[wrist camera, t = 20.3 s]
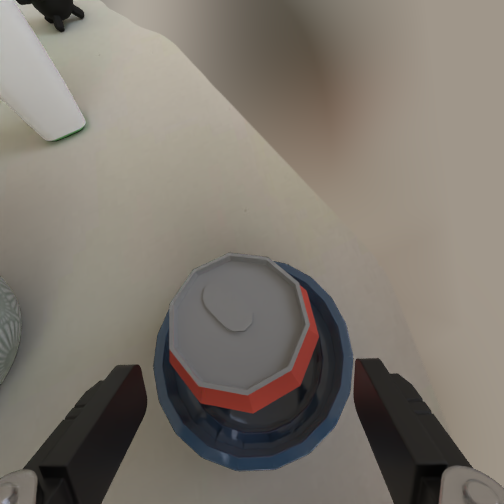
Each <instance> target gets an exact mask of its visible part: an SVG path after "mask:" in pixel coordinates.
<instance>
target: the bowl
mask: <svg viewBox="0 0 504 504" xmlns="http://www.w3.org/2000/svg"><path fill="white" fill-rule="evenodd" d="M274 262H275V263H276V264H277V265H278V266H280V267H281V268H282V269H283V270H284V271H286V272H287V273H288V274H289V275H290V276H292V277H293V278H294V279H295V280H296V281H298V282H299V285H300V286H302V287H303V288H304V289H305V290H306V291H307V294H308V297H309V301H310V305H311V308H312V312H313V316H314V319H315V323H316V327H317V330H318V334H319V338H318V341H317V344H316V346H315V349H314V351H313V354H312V357H311V359H310V362H309V365H308V367H307V370H306V372H305V375H304V378H303V380H302V383H301V385H300V386H299V387H297V388H296V389H294V390H292V391H290V392H289V393H287V394H285V395H284V396H282V397H280V398H279V399H277V400H275V401H274V402H272V403H270V404H268V405H267V406H265V407H263V408H262V409H260V410H258V411H257V412H255V413H248V412H243V411H238V410H233V409H228V408H223V407H218V406H212V405H207V404H202V403H200V402H199V401H198V399H197V398H196V397H195V395H194V394H193V393H192V391H191V390H190V389H189V387H188V386H187V385H186V383H185V382H184V381H183V380H182V378H181V377H180V376H179V374H178V373H177V372H176V370H175V369H174V368H173V366H172V365H171V364H170V362H169V350H170V349H169V310H168V312H167V314H166V317H165V319H164V321H163V324H162V326H161V328H160V330H159V333H158V335H157V342H156V349H155V357H154V364H153V367H154V368H153V369H154V375H155V381H156V387H157V393H158V400H159V403H160V405H161V407H162V408H163V410H164V412H165V414H166V416H167V418H168V420H169V422H170V424H171V426H172V428H173V430H174V432H176V434H177V435H178V436H179V437H180V438H181V439H182V440H183V441H184V442H185V443H186V444H187V445H188V446H190V447H191V448H192V449H193V450H194V451H195V452H196V453H197V454H198V455H199V456H200V457H203V458H204V459H206V460H209V461H211V462H214V463H216V464H219V465H222V466H224V467H227V468H230V469H232V470H235V471H263V470H274V469H275V470H276V469H278V468H281V467H283V466H285V465H287V464H289V463H291V462H294V461H296V460H298V459H300V458H302V457H304V456H306V455H308V454H310V453H311V452H312V451H313V450H314V449H315V448H316V447H317V446H318V445H319V443H320V442H321V441H322V440H323V439H324V438H325V437H326V436H327V435H328V434H329V433H330V432H331V431H332V430H333V429H334V428H335V426H336V424H337V422H338V420H339V417H340V415H341V413H342V410H343V408H344V406H345V404H346V401H347V399H348V397H349V394H350V390H351V379H352V368H353V353H352V348H351V344H350V339H349V334H348V330H347V326H346V323H345V321H344V319H343V317H342V316H341V314H340V312H339V310H338V308H337V306H336V305H335V303H334V301H333V299H332V298H331V297H330V296H329V295H328V294H327V293H326V292H325V291H324V290H323V289H322V288H321V287H320V286H319V285H318V284H317V283H316V282H315V281H314V280H313V279H312V278H311V277H310V276H308V275H306V274H304V273H303V272H301V271H299V270H297V269H295V268H293V267H291V266H290V265H288V264H285V263H280V262H276V261H274Z"/></svg>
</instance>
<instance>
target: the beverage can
mask: <svg viewBox="0 0 504 504" xmlns="http://www.w3.org/2000/svg"><path fill="white" fill-rule="evenodd" d="M318 338H319V334H318V330H317V327H316V323H315V319H314V316H313V312H312V308H311V305H310V301H309V297H308V294H307V291H306V290H305V289H304V288H303V287H302V286H300V285H299V282H298V281H296V280H295V279H294V278H293V277H292V276H290V275H289V274H288V273H287V272H286V271H284V270H283V269H282V268H281V267H280V266H278V265H277V264H276V263H275V262H274V261H272V260H271V259H270V258H269V257H264V256H256V255H247V254H238V253H227V254H225V255H223V256H221V257H219V258H216V259H214V260H212V261H210V262H208V263H206V264H204V265H201V266H199V267H197V268H195V269H193V270H192V272H191V273H190V275H189V276H188V278H187V279H186V281H185V282H184V284H183V285H182V286H181V288H180V289H179V291H178V292H177V294H176V295H175V297H174V298H173V300H172V301H171V303H170V304H169V349H170V350H169V362H170V364H171V365H172V366H173V368H174V369H175V370H176V372H177V373H178V374H179V376H180V377H181V378H182V380H183V381H184V382H185V383H186V385H187V386H188V387H189V389H190V390H191V391H192V393H193V394H194V395H195V397H196V398H197V399H198V401H199V402H200V403H202V404H207V405H212V406H218V407H223V408H228V409H233V410H238V411H243V412H248V413H255V412H257V411H258V410H260V409H262V408H263V407H265V406H267V405H268V404H270V403H272V402H274V401H275V400H277V399H279V398H280V397H282V396H284V395H285V394H287V393H289V392H290V391H292V390H294V389H296V388H297V387H299V386H300V385H301V383H302V380H303V378H304V375H305V372H306V370H307V367H308V365H309V362H310V359H311V357H312V354H313V351H314V349H315V346H316V344H317V341H318Z"/></svg>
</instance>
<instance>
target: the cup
mask: <svg viewBox="0 0 504 504" xmlns="http://www.w3.org/2000/svg"><path fill="white" fill-rule="evenodd" d="M0 98H1V99H2V100H3V101H4V102H5V103H6V104H7V105H8V106H9V107H10V108H11V109H12V110H13V111H14V112H15V113H16V114H17V115H19V116H20V117H21V118H22V119H23V120H24V121H25V122H26V123H27V124H28V125H29V126H30V127H31V128H32V129H33V130H35V131H36V132H37V133H38V134H39V135H40V136H41V137H42V138H43V139H45V140H47V141H57V140H60V139H63V138H65V137H67V136H69V135H72V134H74V133H76V132H78V131H80V130H82V129H83V127H84V125H85V123H86V121H85V119H84V117H83V115H82V113H81V111H80V109H79V107H78V105H77V103H76V101H75V99H74V98H73V96H72V94H71V92H70V91H69V89H68V87H67V85H66V83H65V82H64V80H63V78H62V76H61V75H60V73H59V72H58V70H57V68H56V67H55V65H54V63H53V62H52V60H51V58H50V57H49V55H48V53H47V52H46V50H45V48H44V47H43V45H42V44H41V42H40V40H39V39H38V37H37V36H36V34H35V33H34V31H33V29H32V28H31V26H30V25H29V23H28V21H27V20H26V18H25V17H24V15H23V14H22V12H21V11H20V9H19V8H18V6H17V5H16V3H15V1H14V0H0Z"/></svg>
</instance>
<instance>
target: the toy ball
mask: <svg viewBox="0 0 504 504" xmlns="http://www.w3.org/2000/svg"><path fill="white" fill-rule="evenodd" d="M16 1H17V2H18V3H19V4H21V5H26V4H33V6H34V7H35V8H36V9H37V10H38V11H39V12H40V13H42V14H43V15H44V16H45V19H46V20H47V21H48V22H49V23H54V25H55V28H56V29H57V30H58V31H60V32H62V31H64V30H65V29H64V25H63V22H62V20H64V19H67V18H69V17H70V15H71V13H72V14H74V15H75V16H77V17H79V18H81V19H82V18H84V12H83V10H81V9H80V8H78V7H77V6H75V5H74V4H73V0H16Z"/></svg>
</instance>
